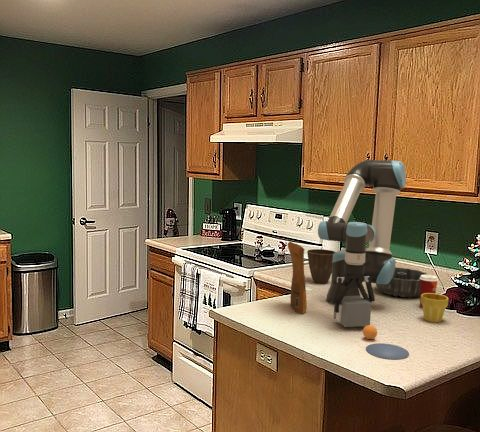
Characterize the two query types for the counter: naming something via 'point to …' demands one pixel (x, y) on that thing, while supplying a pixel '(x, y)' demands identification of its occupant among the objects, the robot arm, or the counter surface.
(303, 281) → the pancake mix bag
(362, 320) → the grey matte cube
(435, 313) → the plant pot
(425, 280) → the paper cup
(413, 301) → the counter surface
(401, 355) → the circle
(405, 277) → the bundt pan
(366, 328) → the ball
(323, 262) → the plant pot
